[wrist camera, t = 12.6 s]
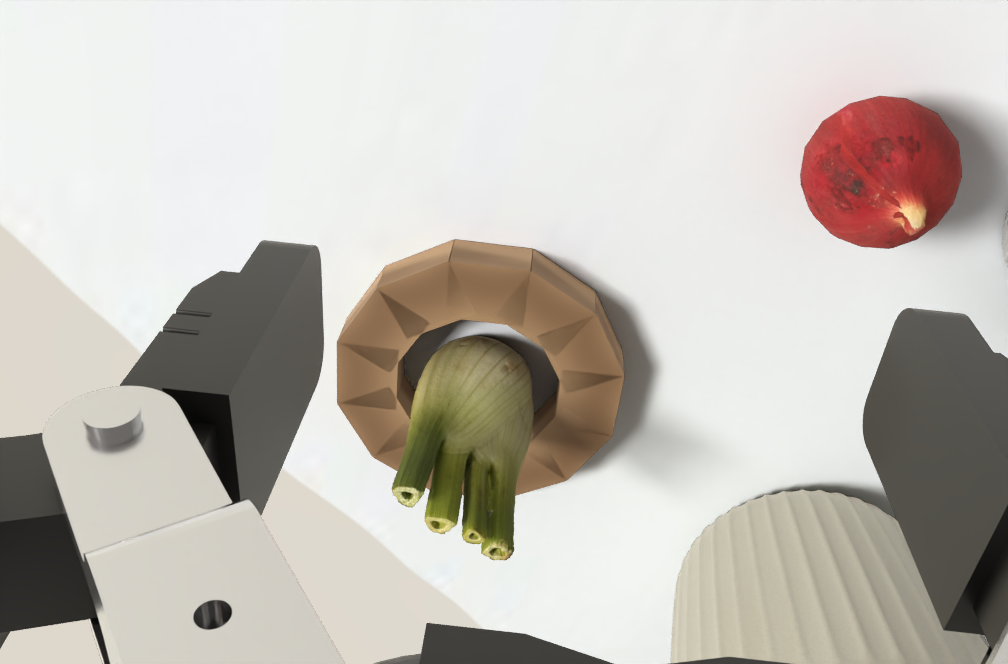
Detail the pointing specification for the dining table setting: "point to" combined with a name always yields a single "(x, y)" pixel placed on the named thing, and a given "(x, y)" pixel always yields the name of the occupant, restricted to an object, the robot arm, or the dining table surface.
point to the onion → (881, 172)
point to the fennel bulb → (469, 441)
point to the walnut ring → (495, 299)
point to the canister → (809, 588)
